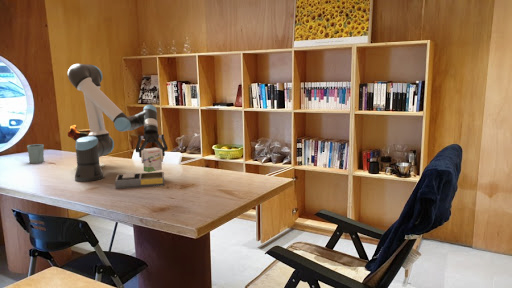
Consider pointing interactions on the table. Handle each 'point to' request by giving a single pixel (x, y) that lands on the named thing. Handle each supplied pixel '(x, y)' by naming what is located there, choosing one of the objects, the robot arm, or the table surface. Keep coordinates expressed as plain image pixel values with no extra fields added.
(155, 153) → the ink box
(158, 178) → the grey compartment tray
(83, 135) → the decorative vase
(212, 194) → the table surface
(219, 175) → the table surface
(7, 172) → the table surface
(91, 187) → the table surface
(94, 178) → the robot arm
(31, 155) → the grey green cup
